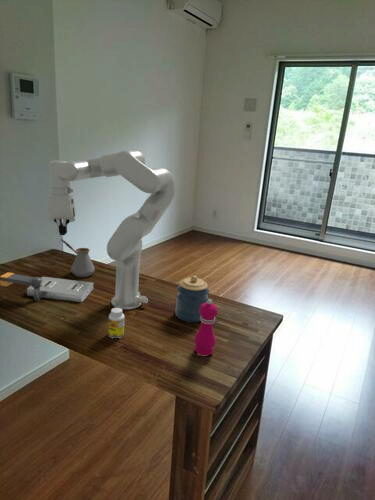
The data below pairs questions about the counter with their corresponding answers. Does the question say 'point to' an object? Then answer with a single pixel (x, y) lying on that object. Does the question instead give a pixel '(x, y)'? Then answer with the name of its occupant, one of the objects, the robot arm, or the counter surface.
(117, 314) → the supplement bottle
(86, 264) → the coffee pot
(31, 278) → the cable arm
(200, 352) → the pepper mill
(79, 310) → the counter surface
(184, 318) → the canister
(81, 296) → the panel
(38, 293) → the pivot post
